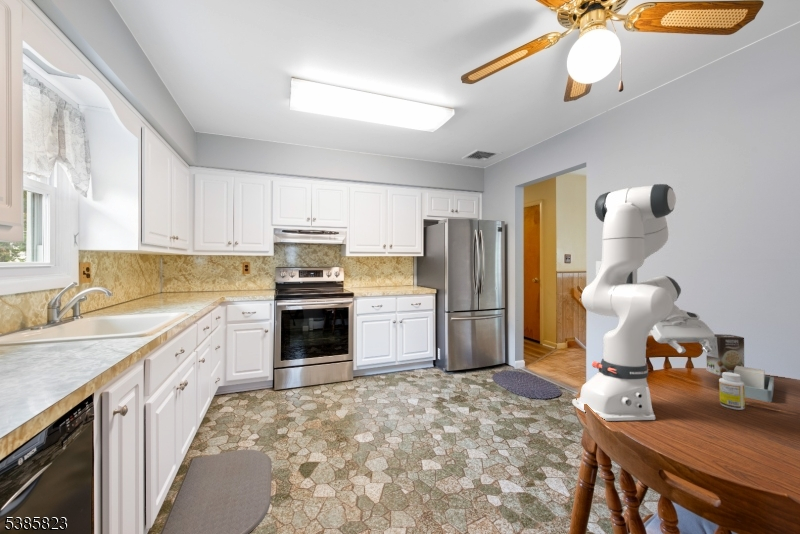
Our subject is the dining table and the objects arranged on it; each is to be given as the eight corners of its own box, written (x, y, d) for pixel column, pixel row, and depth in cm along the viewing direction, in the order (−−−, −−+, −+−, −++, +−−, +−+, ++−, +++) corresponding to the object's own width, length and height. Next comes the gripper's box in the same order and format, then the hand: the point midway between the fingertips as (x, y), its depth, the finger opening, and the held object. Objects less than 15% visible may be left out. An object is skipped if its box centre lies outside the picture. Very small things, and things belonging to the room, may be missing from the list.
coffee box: (719, 378, 126) (718, 337, 127) (706, 372, 133) (705, 333, 133) (745, 378, 126) (744, 337, 126) (730, 373, 132) (729, 334, 132)
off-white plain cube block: (763, 391, 110) (763, 374, 110) (734, 386, 115) (734, 369, 115) (765, 387, 114) (764, 370, 114) (736, 381, 119) (736, 365, 119)
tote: (771, 405, 101) (771, 391, 101) (722, 395, 110) (722, 382, 110) (773, 389, 114) (773, 377, 114) (729, 381, 122) (729, 369, 122)
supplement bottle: (731, 402, 104) (731, 371, 104) (750, 410, 98) (749, 376, 98) (714, 403, 104) (713, 371, 104) (732, 410, 98) (731, 377, 98)
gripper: (648, 315, 120) (672, 347, 110) (701, 313, 120) (730, 346, 111) (639, 324, 124) (661, 357, 114) (690, 323, 125) (717, 355, 115)
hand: (695, 351), depth 112 cm, fingers open, 8 cm apart
